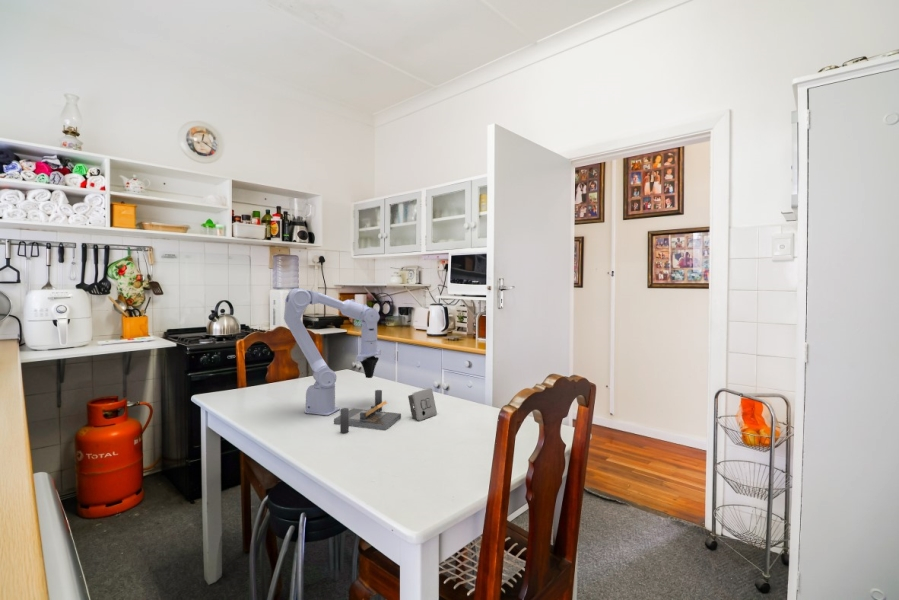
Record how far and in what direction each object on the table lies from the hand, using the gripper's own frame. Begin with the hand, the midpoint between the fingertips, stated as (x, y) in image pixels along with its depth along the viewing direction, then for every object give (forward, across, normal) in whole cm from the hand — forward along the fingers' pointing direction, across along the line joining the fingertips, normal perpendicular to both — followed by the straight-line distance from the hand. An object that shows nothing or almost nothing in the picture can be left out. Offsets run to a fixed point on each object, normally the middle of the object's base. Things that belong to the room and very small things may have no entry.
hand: (369, 377), depth 158 cm
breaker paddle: (+8, -15, -8) cm, 19 cm away
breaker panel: (+10, -15, -8) cm, 20 cm away
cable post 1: (+10, -27, -6) cm, 29 cm away
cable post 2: (+10, -4, -6) cm, 12 cm away
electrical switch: (+11, -5, -23) cm, 26 cm away
